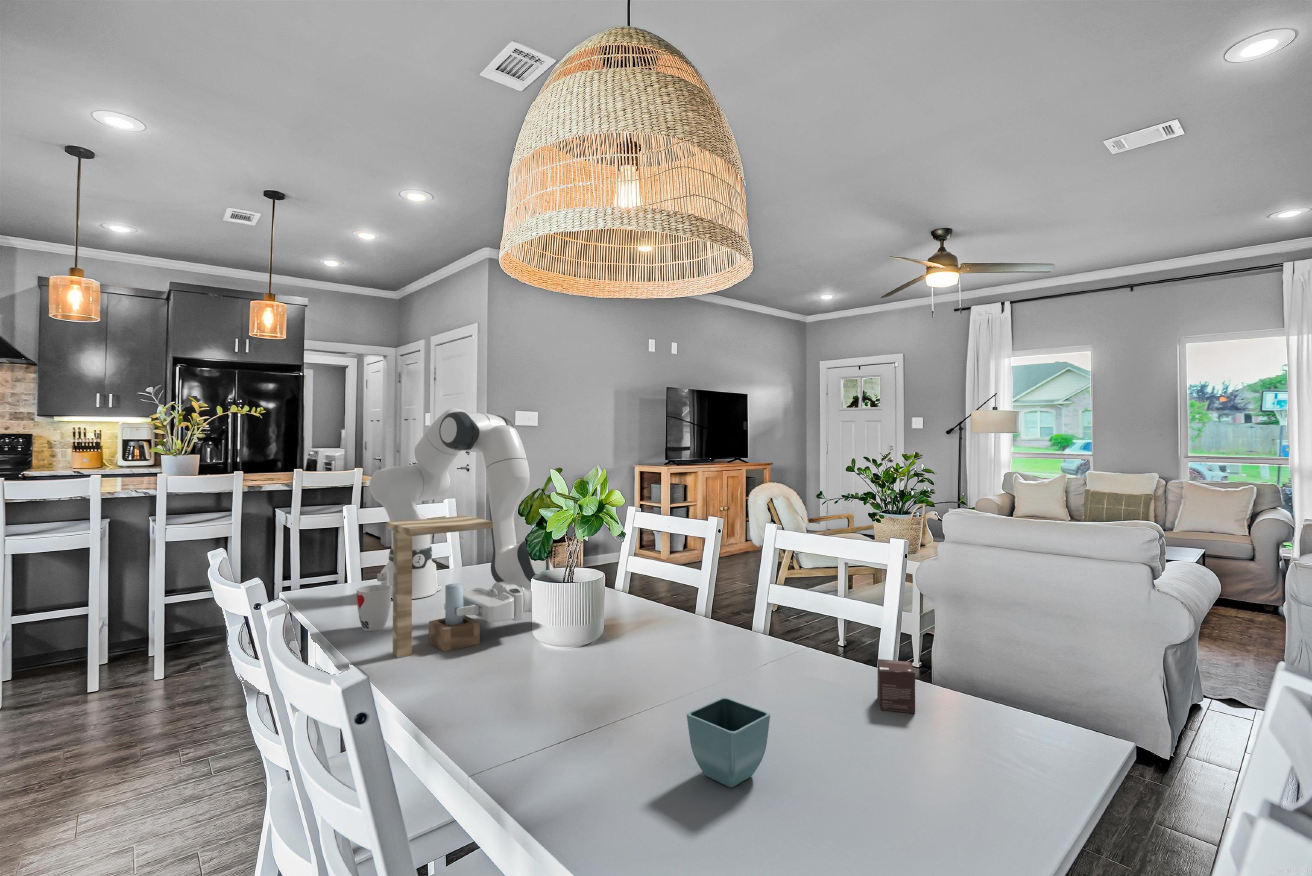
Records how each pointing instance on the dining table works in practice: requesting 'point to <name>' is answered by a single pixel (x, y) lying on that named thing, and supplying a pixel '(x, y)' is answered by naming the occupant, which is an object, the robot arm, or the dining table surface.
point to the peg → (453, 603)
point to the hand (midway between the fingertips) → (450, 609)
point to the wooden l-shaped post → (404, 568)
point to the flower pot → (728, 739)
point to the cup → (373, 606)
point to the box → (896, 686)
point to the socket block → (454, 634)
